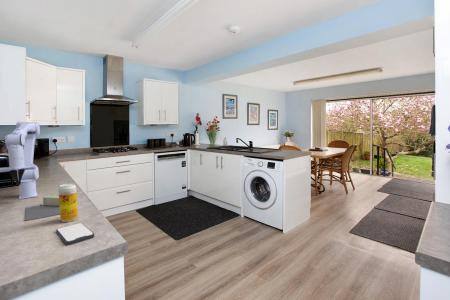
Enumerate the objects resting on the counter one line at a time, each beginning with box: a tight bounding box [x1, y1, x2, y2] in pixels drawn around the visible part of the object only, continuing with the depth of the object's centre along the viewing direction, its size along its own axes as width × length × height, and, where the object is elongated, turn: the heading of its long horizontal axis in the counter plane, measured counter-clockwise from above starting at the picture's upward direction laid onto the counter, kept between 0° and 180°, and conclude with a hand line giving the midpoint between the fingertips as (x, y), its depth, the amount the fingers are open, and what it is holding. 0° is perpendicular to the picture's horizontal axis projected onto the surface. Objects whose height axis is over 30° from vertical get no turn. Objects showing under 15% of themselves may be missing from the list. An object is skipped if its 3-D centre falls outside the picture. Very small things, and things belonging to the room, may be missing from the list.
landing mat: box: [24, 204, 60, 222], centre depth 109 cm, size 20×15×1 cm
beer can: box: [58, 183, 79, 223], centre depth 97 cm, size 6×6×15 cm
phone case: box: [55, 222, 95, 246], centre depth 85 cm, size 9×2×16 cm
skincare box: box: [42, 193, 60, 206], centre depth 117 cm, size 6×4×12 cm
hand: (18, 184), depth 117 cm, fingers closed
